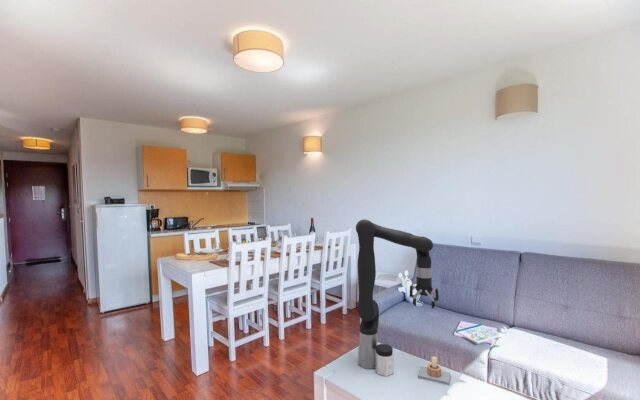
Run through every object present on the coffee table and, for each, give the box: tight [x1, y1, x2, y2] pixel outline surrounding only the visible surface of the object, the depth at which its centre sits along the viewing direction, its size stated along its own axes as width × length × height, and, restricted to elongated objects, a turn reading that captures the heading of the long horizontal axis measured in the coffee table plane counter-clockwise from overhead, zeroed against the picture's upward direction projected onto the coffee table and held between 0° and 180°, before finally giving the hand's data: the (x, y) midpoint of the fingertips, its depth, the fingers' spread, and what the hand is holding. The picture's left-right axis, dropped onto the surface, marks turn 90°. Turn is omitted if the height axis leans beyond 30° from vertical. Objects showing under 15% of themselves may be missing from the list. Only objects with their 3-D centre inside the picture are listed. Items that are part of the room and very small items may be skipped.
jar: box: [375, 343, 394, 377], centre depth 156 cm, size 9×8×12 cm
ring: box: [426, 362, 442, 378], centre depth 152 cm, size 6×6×4 cm
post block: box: [417, 355, 451, 386], centre depth 152 cm, size 14×9×9 cm, turn 65°
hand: (423, 306), depth 162 cm, fingers open, 8 cm apart
